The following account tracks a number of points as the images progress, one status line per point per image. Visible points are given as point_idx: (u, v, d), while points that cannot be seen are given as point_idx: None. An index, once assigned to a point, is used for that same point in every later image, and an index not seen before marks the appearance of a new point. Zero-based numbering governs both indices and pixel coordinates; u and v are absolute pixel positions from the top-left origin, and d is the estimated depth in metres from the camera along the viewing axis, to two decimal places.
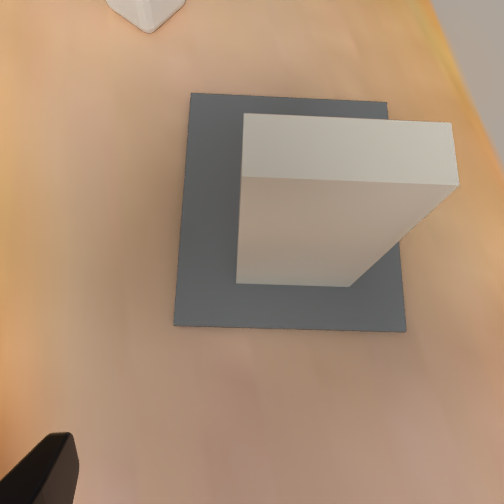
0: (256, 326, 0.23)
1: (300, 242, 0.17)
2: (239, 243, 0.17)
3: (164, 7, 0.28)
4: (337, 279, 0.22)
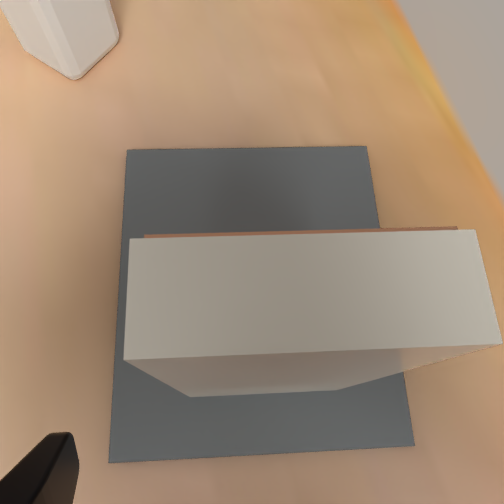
0: (219, 455, 0.17)
1: (258, 380, 0.12)
2: (171, 386, 0.12)
3: (90, 48, 0.23)
4: (320, 389, 0.17)
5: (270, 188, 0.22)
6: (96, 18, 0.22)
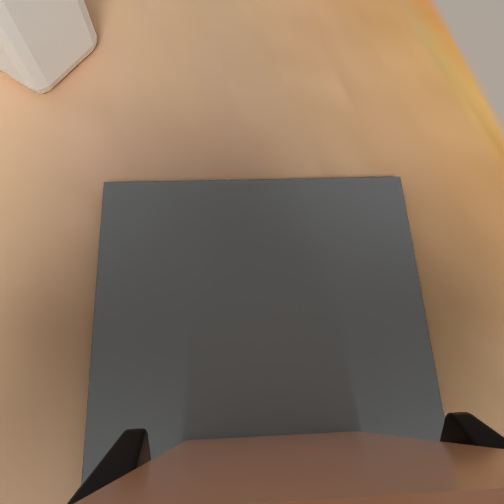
0: None
1: None
2: None
3: (59, 54, 0.18)
4: None
5: (282, 231, 0.17)
6: (65, 18, 0.18)
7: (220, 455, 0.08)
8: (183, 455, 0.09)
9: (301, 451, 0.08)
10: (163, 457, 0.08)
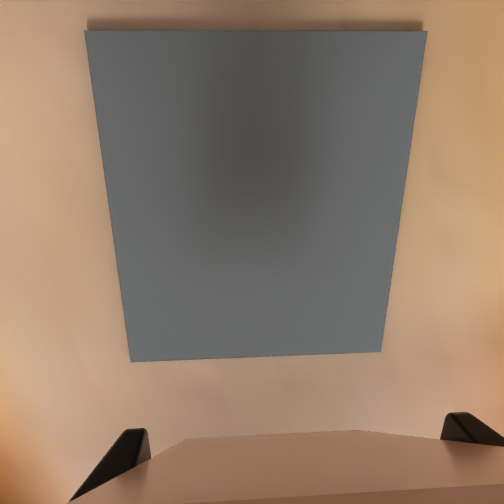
0: (220, 357, 0.21)
1: None
2: None
3: None
4: None
5: (284, 100, 0.17)
6: None
7: (220, 453, 0.08)
8: (183, 453, 0.09)
9: (301, 449, 0.08)
10: (163, 455, 0.08)
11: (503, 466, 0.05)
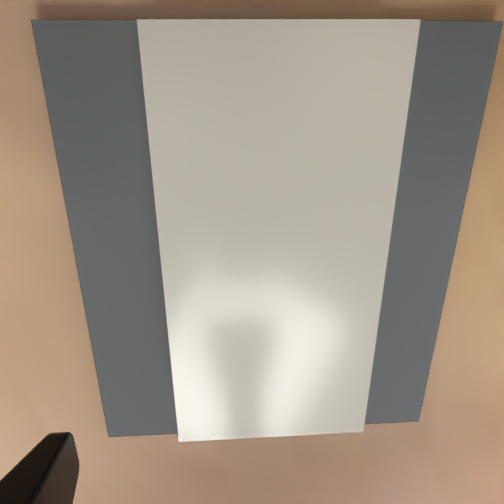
0: None
1: (252, 245, 0.12)
2: (162, 260, 0.12)
3: None
4: (338, 398, 0.14)
5: None
6: None
7: None
8: None
9: None
10: None
11: None
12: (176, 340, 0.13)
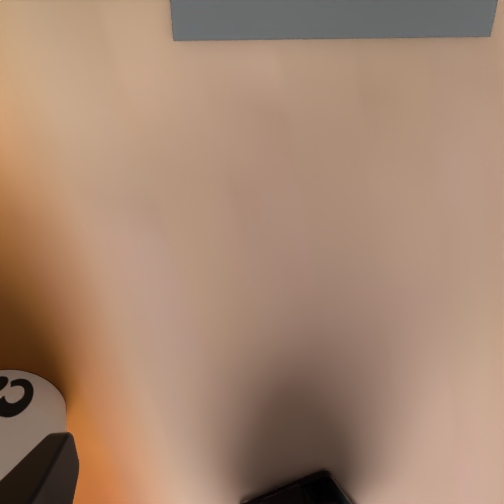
0: (287, 38, 0.17)
1: None
2: None
3: None
4: None
5: None
6: None
7: None
8: None
9: None
10: None
11: None
12: None
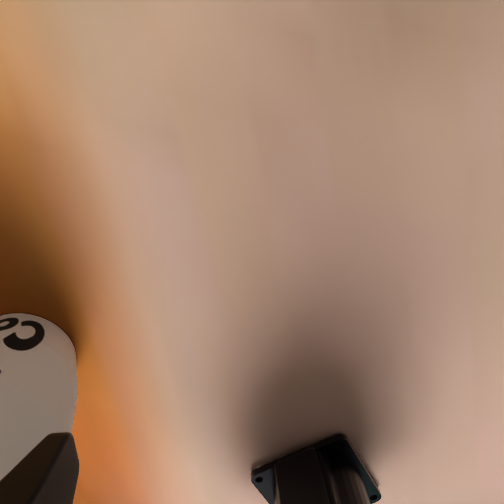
0: None
1: None
2: None
3: None
4: None
5: None
6: None
7: None
8: None
9: None
10: None
11: None
12: None
